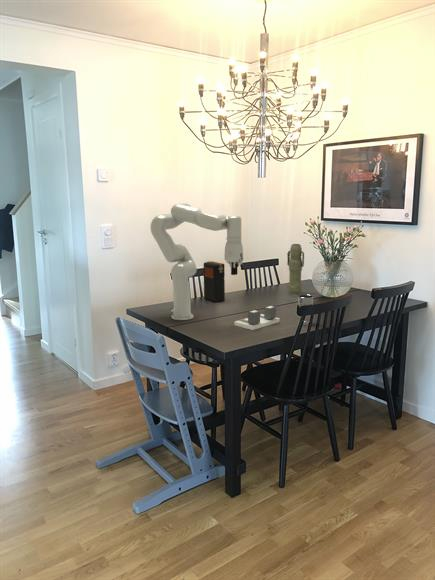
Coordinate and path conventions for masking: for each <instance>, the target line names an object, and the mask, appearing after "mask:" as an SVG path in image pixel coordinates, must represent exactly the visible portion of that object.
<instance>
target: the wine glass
mask: <svg viewBox="0 0 435 580" xmlns="http://www.w3.org/2000/svg"><path fill="white" fill-rule="evenodd" d="M297 302H298V306H299V305H309V304H312V305H313V303H314V295H312V294H301V295H298V296H297ZM306 319H307V316H306V317H305V321H304V320H303V321H304V323H306V322H307V320H306ZM299 322H300V321H298V322H297V323H298V324H299ZM308 322H309V321H308ZM308 322H307V323H308Z"/></svg>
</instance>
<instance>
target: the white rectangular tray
mask: <svg viewBox="0 0 435 580" xmlns="http://www.w3.org/2000/svg"><path fill="white" fill-rule="evenodd" d="M280 319H281V318H280V317H276V318H274V319H270V320H269V319H265V318H264V314H262V313H260V323H257V324H250V323H248V317H247V318H242V319H239V320H235V321H234V323H233V324H234V325H233V326H236V327H239V328H243V329H247V330H250V331H254V330H258V329H260V328H261V329H262V328H264V327H267V326H271V325H274V324H277V323H280Z"/></svg>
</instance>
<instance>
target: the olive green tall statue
mask: <svg viewBox="0 0 435 580" xmlns="http://www.w3.org/2000/svg"><path fill="white" fill-rule="evenodd" d="M302 250H303V249H302V245H301V244H300V243H293V244H291V246H290V249H289V251H288V252H286V253H287V265H288V270H289V283H288V295H289V294H290V295H300V294H301V295H302V290H303V289H302V270H303V267H304V265H305V252H304V251H302ZM290 295H289V296H290Z"/></svg>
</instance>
